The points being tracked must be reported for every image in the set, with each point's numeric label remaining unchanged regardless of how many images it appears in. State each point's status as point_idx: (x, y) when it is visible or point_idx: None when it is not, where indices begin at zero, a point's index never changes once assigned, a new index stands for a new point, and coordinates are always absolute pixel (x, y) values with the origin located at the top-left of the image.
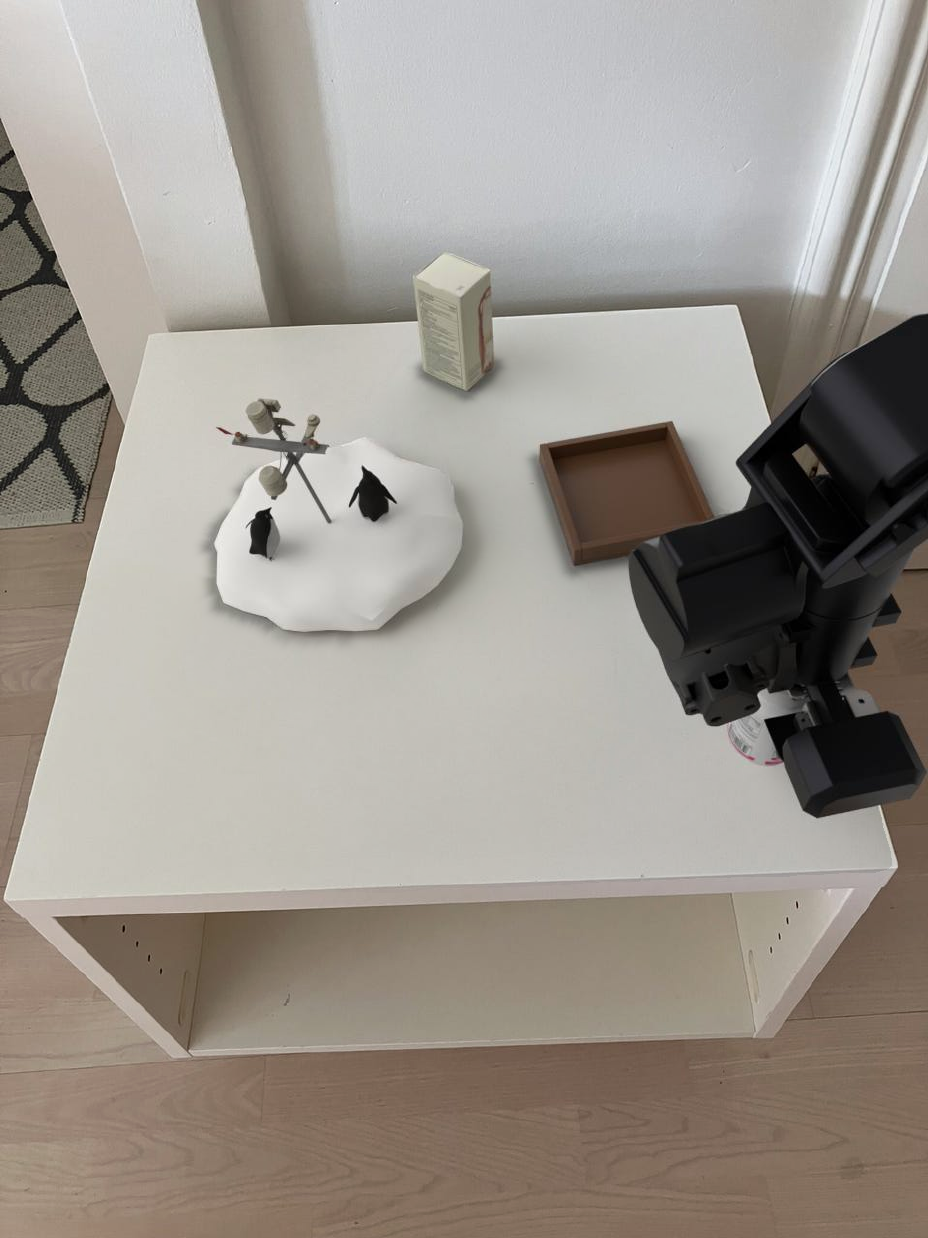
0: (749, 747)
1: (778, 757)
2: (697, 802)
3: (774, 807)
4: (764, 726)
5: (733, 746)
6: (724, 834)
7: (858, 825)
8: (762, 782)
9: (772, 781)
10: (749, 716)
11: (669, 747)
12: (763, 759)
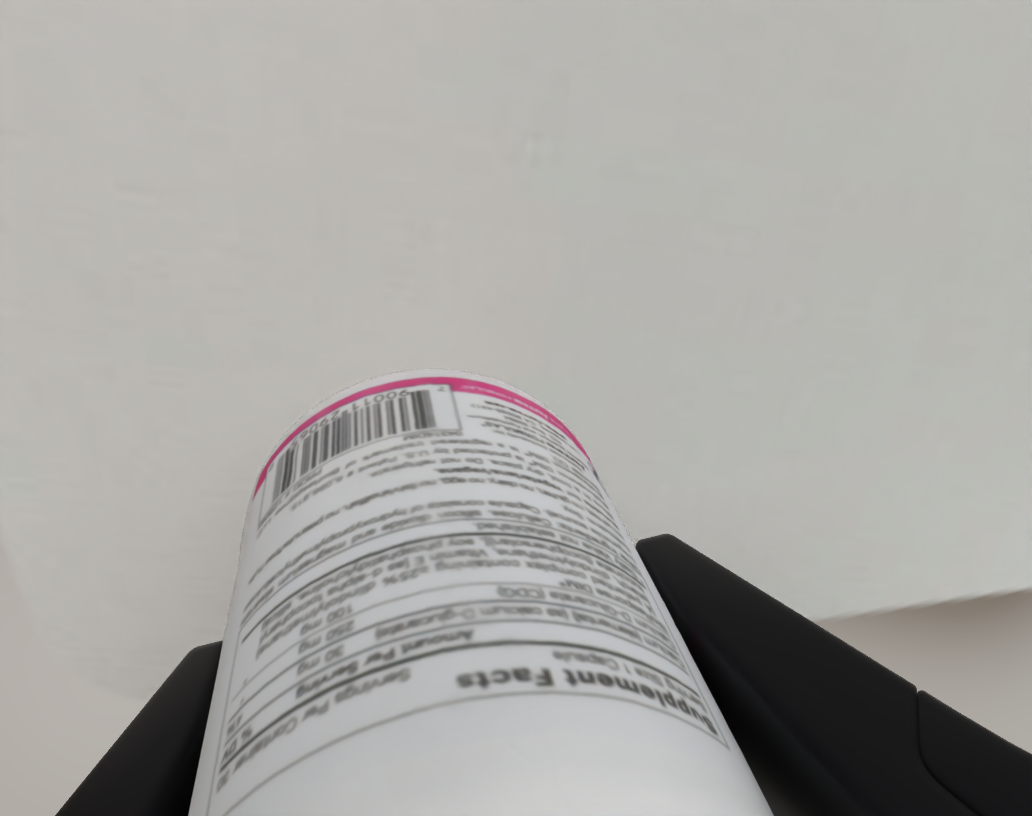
0: (265, 514)
1: (175, 670)
2: (202, 162)
3: (216, 449)
4: (201, 800)
5: (343, 395)
6: (61, 258)
7: None
8: None
9: None
10: (298, 704)
11: (473, 70)
12: (241, 542)
